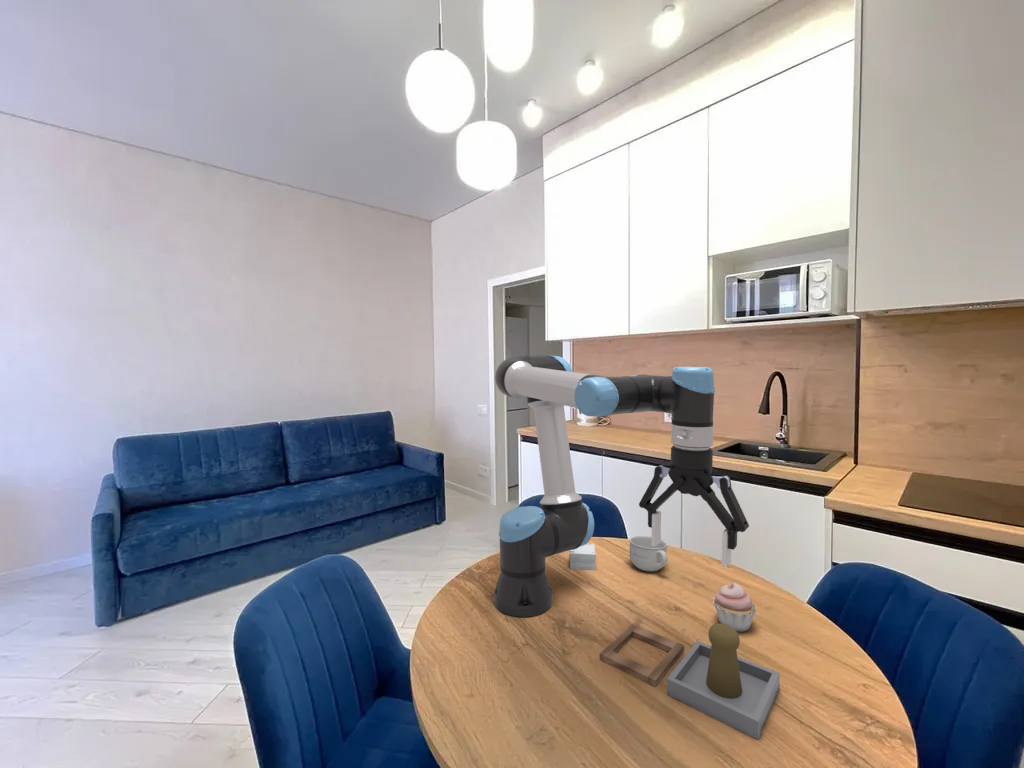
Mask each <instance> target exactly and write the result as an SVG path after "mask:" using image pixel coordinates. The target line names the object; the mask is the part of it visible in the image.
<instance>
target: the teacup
mask: <svg viewBox="0 0 1024 768" xmlns="http://www.w3.org/2000/svg"><path fill="white" fill-rule="evenodd" d="M628 542H629V559H630V561H631V563H632V564H633V565H634V567H636V569H639V570H641V571H645V572H650V573H651V572H657V571H659V570H660V569H663V568H664V567H665V566H666V565H667V564H668V556H667V555H668V554H667V547H668V544H667V542H666V541H665V540H663V539H661V542H660V543H659V544H657V545H656V546H653V545H652V536H648V535H636V536H631V537H630V538H629V541H628Z"/></svg>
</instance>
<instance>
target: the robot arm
mask: <svg viewBox="0 0 1024 768" xmlns="http://www.w3.org/2000/svg"><path fill="white" fill-rule="evenodd" d="M494 376H495V377H494V379H495V384H496V387H497V389H498V390H499V391H500V393H502V394H503V395H504V396H507V397H511V398H515V399H524V398H526V400H527V405H528V407H529V408H531V409H532V410H533V413H534V423H535V428H536V437H537V438H536V439H537V446H538V452H539V462H540V469H541V477H542V478H541V479H542V485H543V487H542V488H543V493H544V495H543V497H542V499H540V501H539V505H540V507H539V506H534V505H526V506H525V505H523V506H522V505H521V506H518V507H517V506H516V507H515V508H511V509H509V510H508V511H506V512H505V513H504V514H503V515H502V516H501V517H500V520H499V531H498V536H499V557H500V558H499V563H500V567H499V568H500V569H499V570H500V573H499V575H498V578H497V579H498V580H497V583H496V587H495V589H494V593H493V601H494V606H495V608H496V609H497V610H498V611H500V612H502V613H503V614H506V615H508V616H512V617H513V616H514V617H519V618H522V617H523V618H527V617H528V618H529V617H533V616H538V615H541V614H543V613H545V612H547V611H548V610H549V609H550V608H551V607H552V606H553V602H554V599H553V590H552V588H551V586H550V583H549V578H548V576H547V573H546V558H547V557H550V556H554V555H557V554H560V553H561V554H562V553H564V552H567V551H570V550H574V549H577V548H579V547H580V546H583V545H585V544H589V542H590V540H591V539H592V538H593V535H594V530H595V518H594V514H593V512H592V511H591V510H590V507H589V505H587V504H586V503H584V502H583V499H582V498H583V497H582V496H581V495H580V494H578V493H577V492H576V488H575V479H574V471H573V465H572V458H571V450H570V444H569V443H570V441H569V435H568V427H567V421H566V420H567V419H566V414H565V412H566V411H565V406H566V407H571V408H573V409H574V408H575V409H577V410H579V411H580V412H581V413H582V415H584V416H587V417H606V416H607V417H608V416H612V415H613V416H614V415H621V414H634V413H645V412H657V413H666V414H671V416H670V417H671V418H670V419H671V432H670V433H671V436H670V438H671V439H670V443H671V444H672V447H670V468H669V467H666V466H665V465H664V464H660V465H658V466H655V467H654V471H653V477H652V479H651V481H650V482H649V485H648V486H647V488H646V491H645V492H644V493H643V496H642V497H641V499H640V501H639V503H638V506H639V508H641V509H644V510H646V512H647V526H648V527H649V528H650V529H651V537H652V545H653V546H656V545H657V544H659V543H660V542H661V540H662V539H661V537H662V534H661V533H662V511H660V510H658V509H659V508H660V507H661V506H662V505H663V504H664V503H666V502H667V501H668V500H669V499H670V498H671V496H673V495H674V494H675V493H676V492H677V491H678V492H680V494H684V495H686V494H687V495H690V496H693V497H698V496H700V497H701V499H703V501H705V502H706V503H707V505H708V506H709V508H711V510H712V511H713V513H714V514H715V516H716V517H717V519H718V520H719V521H720V523H721V524H722V526H724V528H725V529H724V530H723V531H722V539H721V540H722V543H721V544H722V546H721V567H724V568H727V567H728V566H730V564H731V562H732V560H731V559H732V556H731V555H732V550H733V551H734V550H735V549H736V547H737V546H738V532H741V533H743V532H744V533H745V532H746V530H747V529H748V528H749V527H750V525H749V522H748V520H747V518H746V516H745V514H744V512H743V509H742V507H741V504H740V503H739V501H738V499H737V497H736V494H735V492H734V490H733V488H732V481H731V476H730V475H723V476H719V475H718V476H715V475H714V473H713V460H714V459H713V457H714V456H713V454H714V452H713V451H714V450H712V448H711V447H713V446H714V404H715V403H714V402H715V392H716V388H715V374H714V370H713V369H712V368H710V367H708V366H675V367H673V369H672V373H671V375H669V376H667V375H665V376H664V375H654V374H653V375H652V374H633V375H629V376H628V375H626V376H604V375H597V374H589V373H582V372H575V371H573V368H572V367H571V364H570V363H569V362H568V360H566V359H565V358H563V357H562V356H557V355H551V354H547V355H544V354H543V355H514V356H509V357H507V358H506V359H504V360H503V361H501V363H500V364H499V365H498V367H497V368H496V370H495V375H494ZM667 476H668V477H669V478H670V479H671V484H670V485H669V486H668V487H667V488H666V489H665V490H664V492H662V493H661V494H660V495H659V496H658V497H657V498H656V499H655V500H654V501H653V502H652V500H653V498H654V496H655V494H656V493H657V492H658V489H659V487H660V485H661V484H662V482H663V480H664V478H666V477H667ZM714 483H715V485H716V487H717V488H718V489H720V492H721V495H722V497H723V499H724V501H725V504H726V506H727V508H728V510H729V511H728V510H727V509H726V507H725V506H724V504H723V503H722V502H721V501H720V499H719V497H717V495H716V492H715V491H714V489H713V488H712V487H711V486H713V484H714ZM729 512H730V513H729Z"/></svg>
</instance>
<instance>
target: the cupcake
mask: <svg viewBox="0 0 1024 768" xmlns="http://www.w3.org/2000/svg"><path fill="white" fill-rule="evenodd" d="M712 599H713V601H712V605H713V606H714V608H715V610H716V613H717V616H718V620H719V624H726V625H729V626H731V627H732V628H734V629H735V630H736V631H737V633H740V632H741V633H743V632H747V631H749V629H750V627H751V625H752V621H753V618H754V617H755V615H756V613H757V609H756V608H757V606H756V604H754V603H753V600H752V598H751V596H750V594H749V593H748V592H746V591H745V589H744V588H743V587H742V586H741V585H740V584H738V583H736V582H733V581H732V582H731V583H730V584H724V585H723V586H721V588H720V589H719V590H717V591H716V592H715V596H713V597H712Z"/></svg>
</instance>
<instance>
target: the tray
mask: <svg viewBox="0 0 1024 768" xmlns="http://www.w3.org/2000/svg"><path fill="white" fill-rule="evenodd" d="M710 652H711V645H710V644H707V643H705V642H702V641H700V640H696V641H695V643H694V644H693V645H691V648H689V650H688V651H687V653H686V654H685V655H684V656H683V658H682V659H681V661H680V662H679V663H678V664H677V666H675V668H674V669H673V670H672V672H671V673H670V674H669V675H668V677H667V678H666V685H667V686H666V690H667V691H666V693H667V696H669V697H670V698H673V699H675V700H677V701H679V702H681V703H683V704H685V705H688V706H689V707H692V708H694V709H695V710H697V711H699V712H701V713H703V714H705V715H707V716H709V717H711V718H713V719H715V720H718V721H720V722H721V723H723V724H725V725H727V726H730V727H732V728H734V729H736V730H738V731H740V732H741V733H743V734H746V735H747V736H750V737H752V738H754V739H755V740H759V739H760V736H761V735H762V732H763V729H764V727H765V725H766V723H767V720H768V718H769V716H770V713H771V710H772V708H773V706H774V703H775V700H776V698H777V696H778V693H779V692H780V683H781V682H780V680H781V679H780V676H781V675H780V672H778V671H775V670H773V669H770V668H768V667H765V666H762V665H760V664H758V663H755V662H754V661H753V662H752V661H750V660H747V659H744V658H743V657H740V656H738V655H737V658H738V665H739V672H740V679H741V686H742V695H741V696H740V697H738V698H734V699H730V698H724V697H721V696H719V695H716V694H715V693H713V692H712V691H711V690H710V689H709V688H708V686H707V684H706V679H707V672H708V665H709V658H710Z"/></svg>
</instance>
